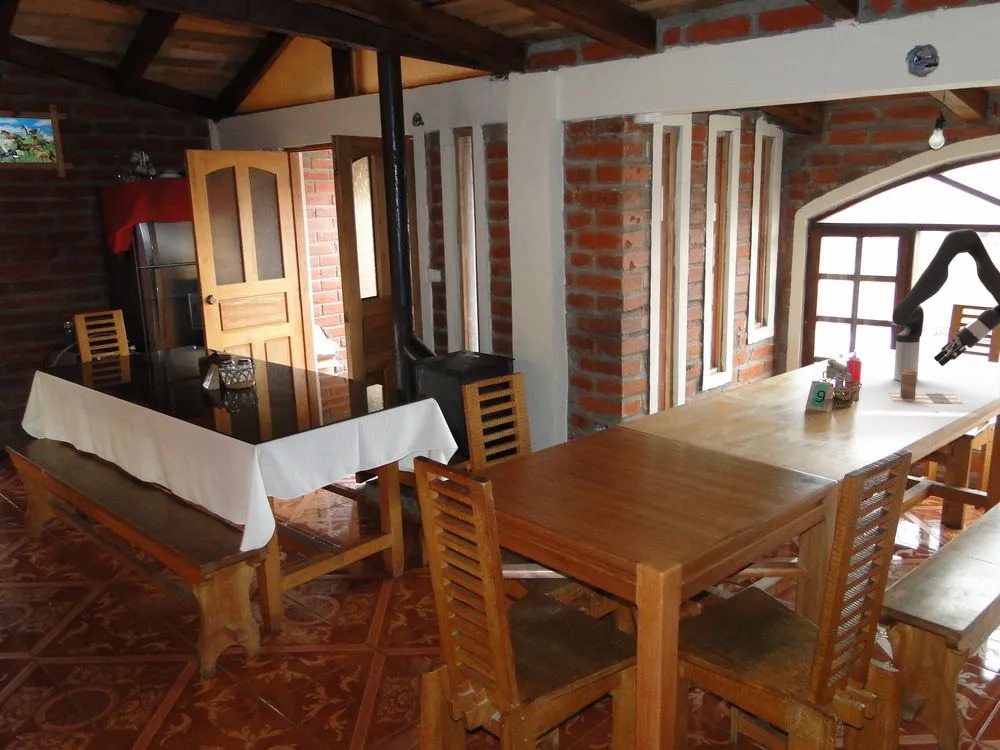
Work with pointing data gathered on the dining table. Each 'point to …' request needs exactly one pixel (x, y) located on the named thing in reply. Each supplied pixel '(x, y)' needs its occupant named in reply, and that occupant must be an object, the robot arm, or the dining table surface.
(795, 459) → the dining table surface
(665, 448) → the dining table surface
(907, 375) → the walnut block
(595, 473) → the dining table surface
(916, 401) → the subfloor panel
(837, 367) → the geiger counter
